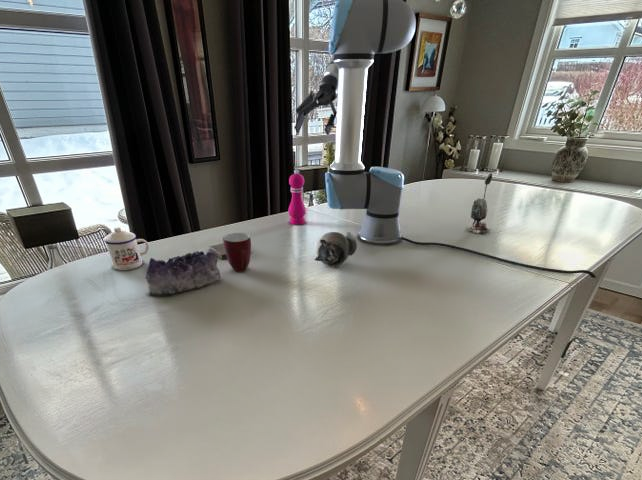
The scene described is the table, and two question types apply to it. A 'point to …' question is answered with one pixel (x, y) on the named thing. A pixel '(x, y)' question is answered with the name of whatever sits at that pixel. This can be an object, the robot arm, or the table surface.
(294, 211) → the pepper mill
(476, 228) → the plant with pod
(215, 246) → the grey angular chunk
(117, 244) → the teacup with lid
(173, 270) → the geode
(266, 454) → the table surface
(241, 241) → the mug
